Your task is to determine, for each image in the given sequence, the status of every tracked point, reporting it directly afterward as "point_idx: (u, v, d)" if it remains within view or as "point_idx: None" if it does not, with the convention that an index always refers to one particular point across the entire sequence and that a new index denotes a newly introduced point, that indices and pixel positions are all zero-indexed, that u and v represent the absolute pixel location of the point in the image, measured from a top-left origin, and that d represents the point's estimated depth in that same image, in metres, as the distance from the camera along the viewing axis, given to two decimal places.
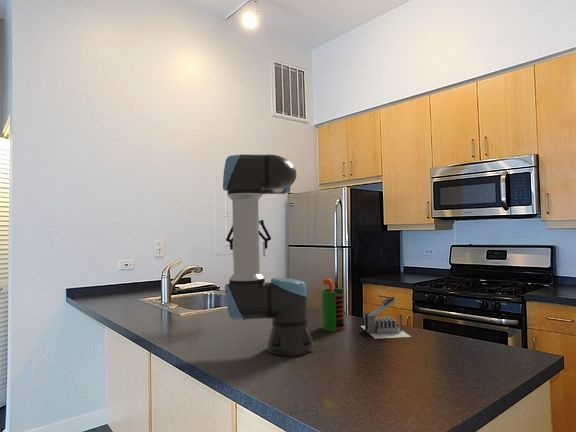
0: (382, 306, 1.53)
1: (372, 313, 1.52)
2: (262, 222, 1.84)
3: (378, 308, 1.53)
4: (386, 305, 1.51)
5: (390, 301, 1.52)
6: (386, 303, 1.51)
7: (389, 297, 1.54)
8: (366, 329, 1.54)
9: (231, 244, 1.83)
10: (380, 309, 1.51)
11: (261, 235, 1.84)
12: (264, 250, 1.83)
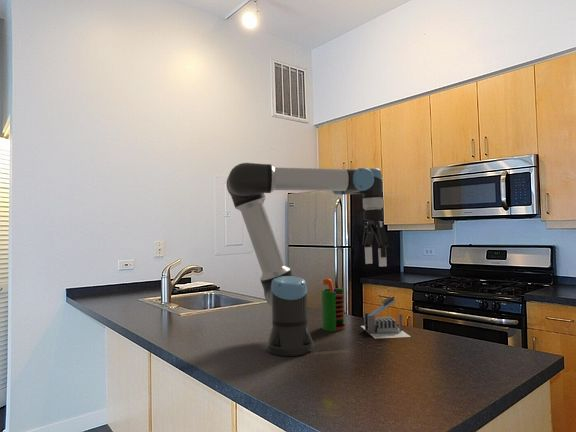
0: (382, 306, 1.53)
1: (372, 313, 1.52)
2: (377, 224, 1.50)
3: (378, 308, 1.53)
4: (386, 305, 1.51)
5: (390, 301, 1.52)
6: (386, 303, 1.51)
7: (389, 297, 1.54)
8: (366, 329, 1.54)
9: None
10: (380, 309, 1.51)
11: (377, 240, 1.51)
12: (379, 259, 1.49)
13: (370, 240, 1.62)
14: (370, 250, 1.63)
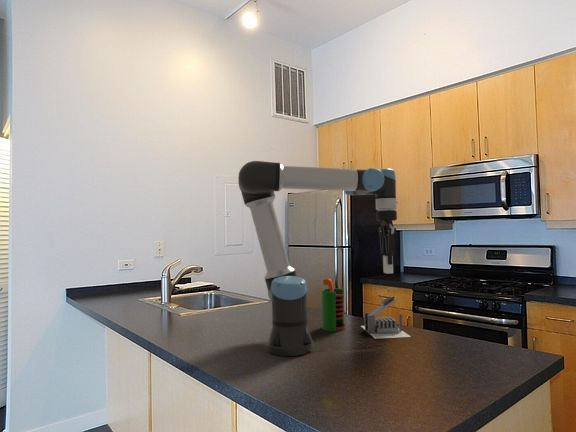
0: (382, 306, 1.53)
1: (372, 313, 1.52)
2: (388, 231, 1.48)
3: (378, 308, 1.53)
4: (386, 305, 1.51)
5: (390, 301, 1.52)
6: (386, 303, 1.51)
7: (389, 297, 1.54)
8: (366, 329, 1.54)
9: None
10: (380, 309, 1.51)
11: (386, 246, 1.52)
12: (385, 266, 1.52)
13: None
14: None
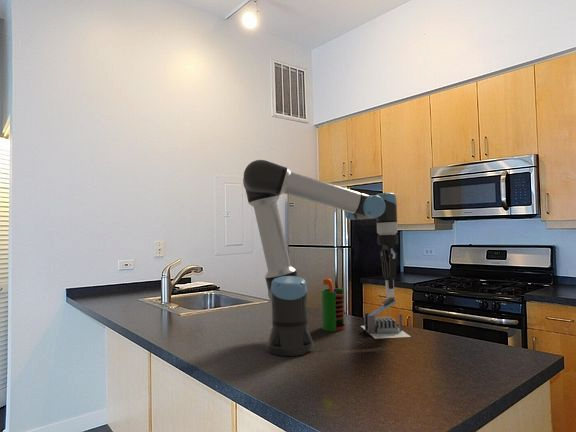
0: (382, 307, 1.53)
1: (372, 313, 1.52)
2: (390, 256, 1.48)
3: (378, 308, 1.53)
4: (386, 306, 1.51)
5: (391, 302, 1.52)
6: (387, 304, 1.51)
7: (390, 298, 1.54)
8: (366, 329, 1.54)
9: None
10: (380, 309, 1.51)
11: (387, 270, 1.52)
12: (386, 290, 1.53)
13: None
14: None
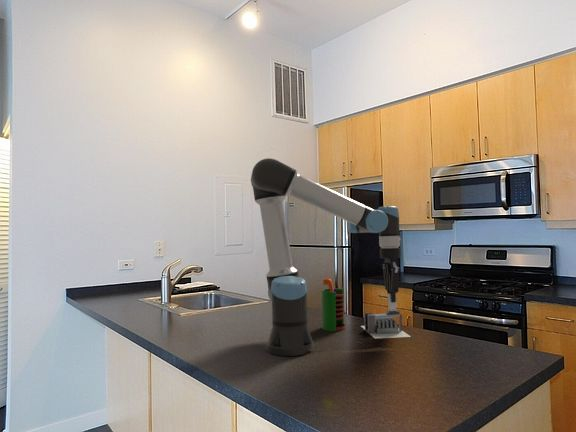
0: (385, 314, 1.53)
1: None
2: (392, 270, 1.48)
3: (381, 314, 1.53)
4: (390, 315, 1.51)
5: (395, 313, 1.52)
6: (391, 313, 1.51)
7: None
8: (366, 329, 1.54)
9: None
10: (383, 315, 1.51)
11: (389, 284, 1.52)
12: (389, 304, 1.53)
13: None
14: None
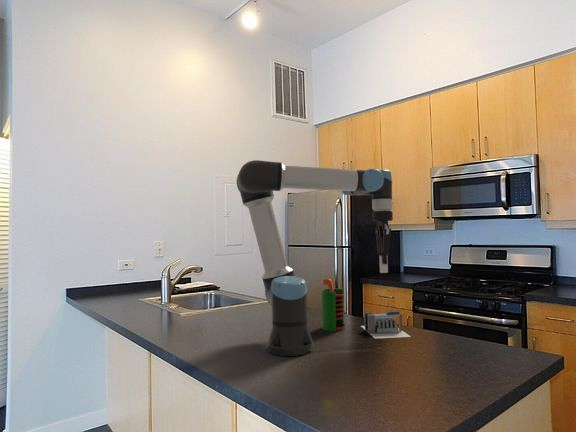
0: (385, 314, 1.53)
1: None
2: (383, 231, 1.51)
3: (381, 314, 1.53)
4: (390, 315, 1.51)
5: (395, 313, 1.52)
6: (391, 313, 1.51)
7: (395, 310, 1.54)
8: (366, 329, 1.54)
9: None
10: (383, 315, 1.51)
11: (381, 246, 1.55)
12: (380, 265, 1.55)
13: None
14: None
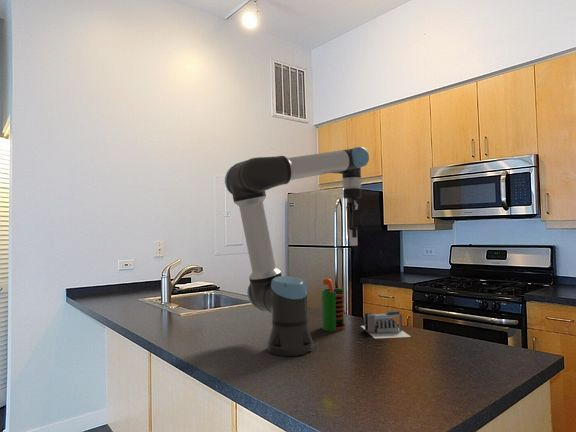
0: (385, 314, 1.53)
1: None
2: (353, 207, 1.64)
3: (381, 314, 1.53)
4: (390, 315, 1.51)
5: (395, 313, 1.52)
6: (391, 313, 1.51)
7: (395, 310, 1.54)
8: (366, 329, 1.54)
9: None
10: (383, 315, 1.51)
11: (351, 221, 1.68)
12: (350, 239, 1.68)
13: None
14: None
